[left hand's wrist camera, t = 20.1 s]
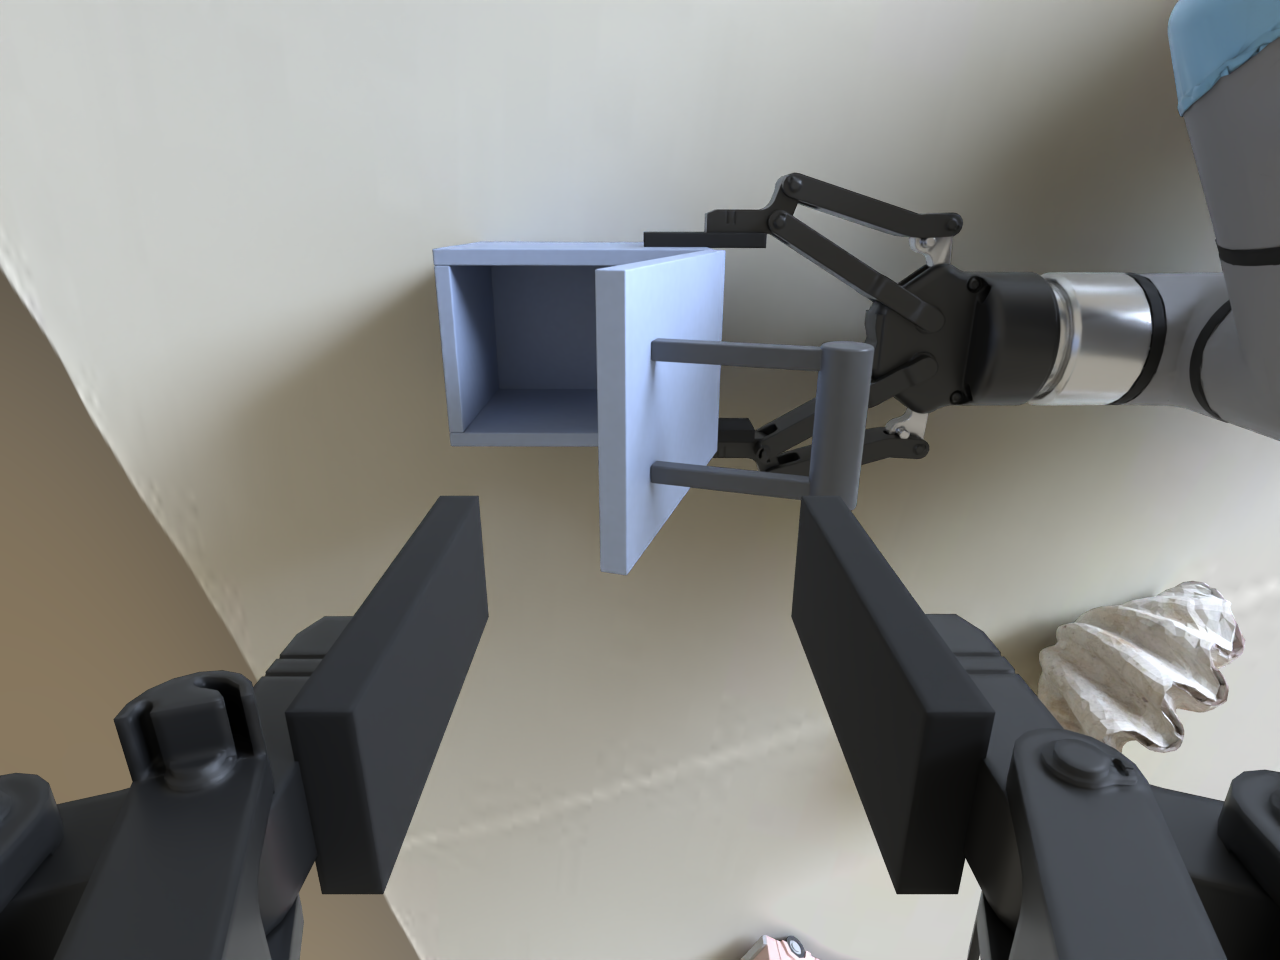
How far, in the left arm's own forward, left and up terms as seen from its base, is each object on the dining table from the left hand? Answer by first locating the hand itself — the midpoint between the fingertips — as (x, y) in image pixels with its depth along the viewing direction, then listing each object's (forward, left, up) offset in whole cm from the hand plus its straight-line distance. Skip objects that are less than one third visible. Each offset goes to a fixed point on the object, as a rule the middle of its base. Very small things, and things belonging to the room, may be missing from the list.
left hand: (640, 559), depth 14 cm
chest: (0, -3, -35) cm, 35 cm away
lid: (0, +1, -16) cm, 16 cm away
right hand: (0, 0, -28) cm, 28 cm away
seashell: (+24, +36, -35) cm, 55 cm away
